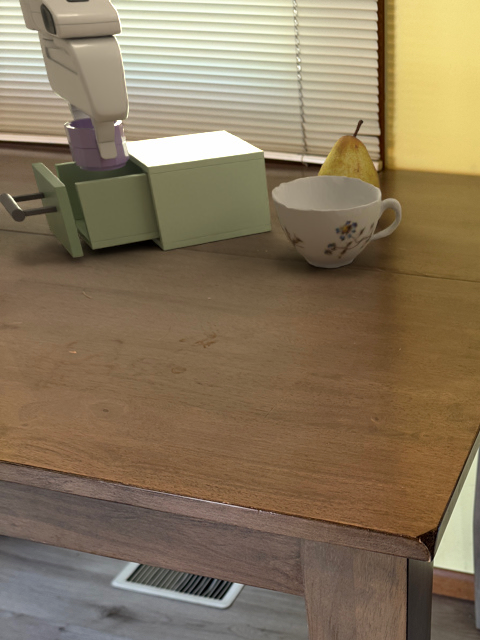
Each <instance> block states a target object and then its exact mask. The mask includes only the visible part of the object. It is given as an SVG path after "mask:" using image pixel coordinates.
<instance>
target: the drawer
mask: <svg viewBox="0 0 480 640" xmlns="http://www.w3.org/2000/svg"><path fill="white" fill-rule="evenodd" d="M30 165H31V169H32V172H33V175H34V179H35V182H36V185H37V189H38V192H33V193H25V194H17V195H13V196H11V194H9V193H8V192H7V193H6V192H4V193H1V194H0V203H1V205H2V206H3V208H4V209H5V210H6V211H7V213H8V214H9V216H10V217H11V218H12V219H13V221H14V222H17V223H22V222H23V221H25V219H26V218H27V217H32V216H39V215H45V217H46V222H47V225H48V228H49V231H50V232H52V234H53V236H54V237H55V238H56V239H57V240H58V241H59V242H60V244H61V245H62V246H63V247H64V248H65V250H66V251H67V252H68V253H69V254H70V255H71V256H72V258H74V259H75V258H81V257H84V256H85V255H84V251H83V248H82V244H81V240H80V237H81V238H82V240H83V241H84V242H85V243H86V244H87V245H88V246H89V247H90V249H92V250H98V249H103V248H110V247H115V246H120V245H126V244H131V243H136V242H137V243H138V242H143V241H148V240H152V239H154V238H160V235H159V230H158V225H157V220H156V215H155V210H154V204H153V199H152V194H151V189H150V184H149V179H148V173H147V172H146V171H144V170H143V169H142V168H140V167H139V166H138V165H136V164H135V163H134V162H132V161H131V160H130V159H129V160H128V161H127V162H126V165H125V166H123V167H121V168H118V169H114V170H108V171H86V170H82V169H80V168H79V166H77V165H76V164H75V163H74V162H73V161H68V162H60V163H55V164H54V167H55V171H56V174H57V175H55V174H54V173H53V172H52V171H51V170H50V169H49V168H48V167H46V166H45V164H44V163H42V162H32V163H31V164H30ZM35 200H40V201H41V203H42V204H41V205H42V206H41V207H34V208H29V209H27V208H26V209H22V208H21V207H20V206H19V204H18V203H22V202H29V201H35Z"/></svg>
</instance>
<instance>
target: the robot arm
mask: <svg viewBox="0 0 480 640" xmlns="http://www.w3.org/2000/svg"><path fill="white" fill-rule="evenodd" d="M18 2H19V6H20V8H21V9H20V10H21V13H22V17H23V20H24V24H25V28H26V29H28V30H30V31H36V32H37V35H38V40H39V44H40V50H41V54H42V58H43V62H44V67H45V72H46V77H47V80H48V83H49V86H50V88H51V90H52V92H53V93H54V94H56V96H59V97H60V98H61V99H63V100H64V101H66V102H67V105H68V109H69V112H70V115H71V117H72V120H76V119H81V118H91V122H92V125H93V126H94V130H95V136H96V140H95V143H96V147H97V151H98V154H99V155H100V156H101V157H102V158H103V159H113V158H116V156H117V151H116V146H115V142H114V141H115V125H114V121H126V120H127V119H128V116H129V108H130V107H129V95H128V89H127V81H126V75H125V67H124V62H123V55H122V49H121V47H120V43H119V41H118V39H117V37H116V36H119V35H121V34H122V23H121V19H120V16H119V12H118V10H117V9H116V7H115V5H113V3H112V1H111V0H18Z"/></svg>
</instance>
